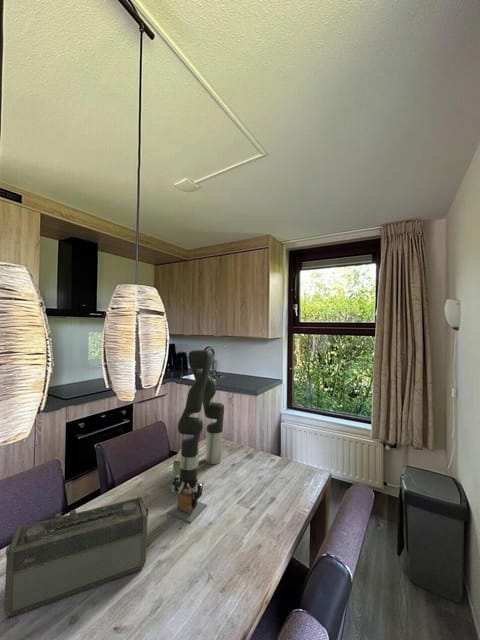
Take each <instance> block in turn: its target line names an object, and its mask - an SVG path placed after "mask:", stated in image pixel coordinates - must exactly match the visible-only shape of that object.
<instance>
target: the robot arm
mask: <svg viewBox="0 0 480 640" xmlns="http://www.w3.org/2000/svg"><path fill="white" fill-rule="evenodd" d="M187 360H188V365H189V367H190V370H191V373H192V374H193V377H194V380H195V381H194V383H193V384H192V385H191V387H190V388H189V389H188V393H187V398H186V401H185V402H186V403H185V407H184V410H183V412H182V415H181V416H180V419H179V421H178V424H177V430H178V433H179V434H180V435H185V436H187V435H188V436H193V437H188V438H185V439H183V440H182V442H181V447H180V448H181V459H180V476H179V475H177V476H176V477H174V486H175V491H176V492H175V493H177V492H178V493H177V495H178V494H179V493H180V492H182V490H184V489H187V490H189V492H190V494H191V495H192V508H194V507H195V506H196V505H197V501H198V500H199V499H200V498H202V494H203V488H204V483H203V482H199V481H198V476H199V474H198V473H199V460H198V449H199V443H200V442H199V441H200V437H201V435H202V432H203V428H204V422H203V420H202V418H200V417H194V416H193V417H192V416H191V415H193V414H198V413H200V412H201V411H202V407H203V412H204V413H203V414H204V416H205V418H207V419H210V420H216V421H215V422H211V423H208V424H207V426H206V436H205V437H206V441H205V462H206V464H211V465H216V464H217V465H218V464H220V463H221V462H222V458H223V427H224V415H225V406H224V403H222V402H215V401H211V400H212V399H213V398H214V397H215V395H216V393H217V388H216V383H215V380H214V379H213V377H212V376H211V375H210V373H211V372H210V371H211V368H212V364H213V354H212V352H211V350H209V349H208V350H207V349H201V350H200V349H193V350H190V351H189V353H188V356H187ZM197 475H198V476H197ZM180 482H181V486H180ZM177 486H178V487H177ZM192 489H193V490H192ZM194 493H195V495H194ZM197 499H198V500H197Z"/></svg>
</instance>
